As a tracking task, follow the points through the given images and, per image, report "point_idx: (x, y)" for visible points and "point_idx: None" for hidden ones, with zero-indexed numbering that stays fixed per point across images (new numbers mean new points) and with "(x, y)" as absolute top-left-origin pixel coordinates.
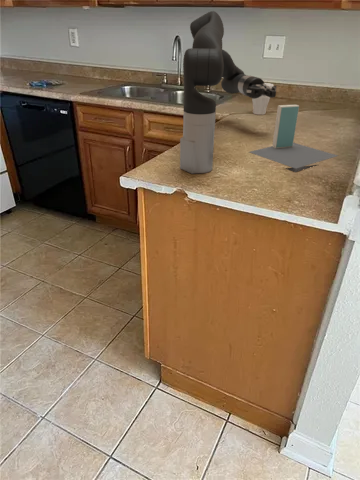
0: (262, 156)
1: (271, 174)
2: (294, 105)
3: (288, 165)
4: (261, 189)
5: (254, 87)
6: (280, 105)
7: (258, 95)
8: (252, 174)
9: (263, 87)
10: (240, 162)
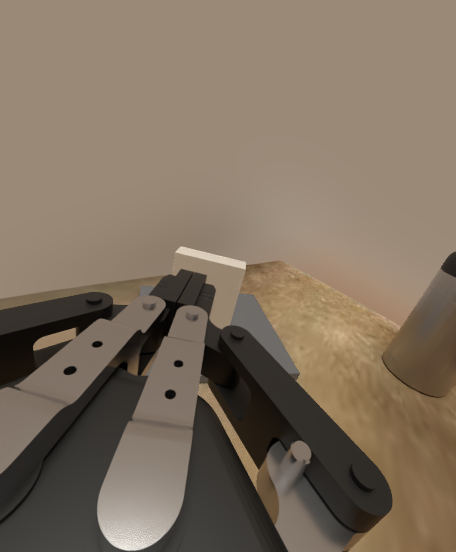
0: (279, 341)
1: (288, 309)
2: (193, 251)
3: (256, 302)
4: (316, 297)
5: (239, 474)
6: (236, 267)
7: (240, 380)
8: (315, 320)
9: (180, 340)
10: (324, 358)
